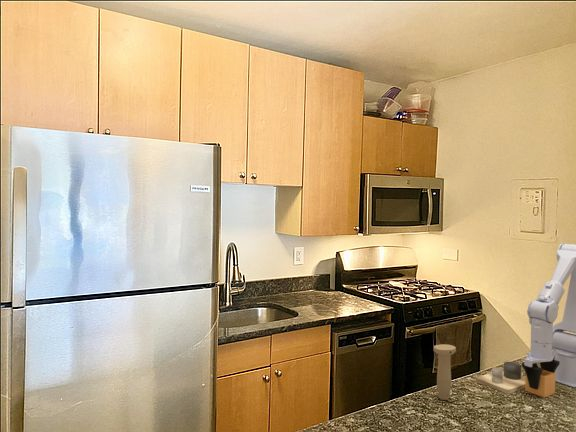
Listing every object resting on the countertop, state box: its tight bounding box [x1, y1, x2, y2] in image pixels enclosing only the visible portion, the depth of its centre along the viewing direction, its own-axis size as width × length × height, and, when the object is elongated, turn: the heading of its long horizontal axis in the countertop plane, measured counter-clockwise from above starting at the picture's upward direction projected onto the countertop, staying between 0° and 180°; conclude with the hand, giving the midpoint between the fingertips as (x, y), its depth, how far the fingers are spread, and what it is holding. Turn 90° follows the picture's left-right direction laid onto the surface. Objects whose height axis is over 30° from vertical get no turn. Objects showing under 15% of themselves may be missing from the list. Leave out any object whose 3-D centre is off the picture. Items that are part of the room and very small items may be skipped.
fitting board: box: [474, 361, 526, 395], centre depth 142 cm, size 14×11×5 cm
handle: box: [433, 343, 457, 401], centre depth 130 cm, size 5×6×15 cm
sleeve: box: [524, 370, 556, 399], centre depth 135 cm, size 6×6×6 cm
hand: (540, 385), depth 135 cm, fingers open, 7 cm apart
